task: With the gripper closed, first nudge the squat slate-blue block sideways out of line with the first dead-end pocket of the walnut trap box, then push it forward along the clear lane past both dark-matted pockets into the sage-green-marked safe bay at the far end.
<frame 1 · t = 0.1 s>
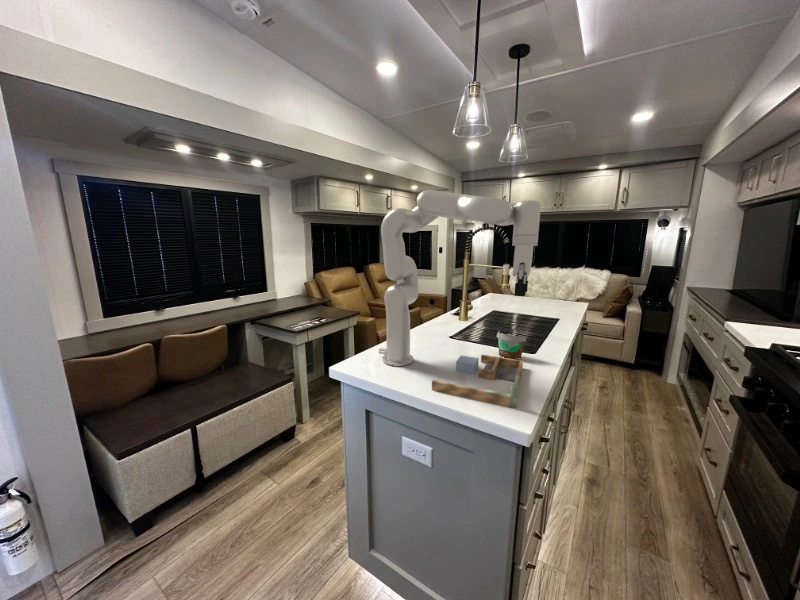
hand: (521, 293, 101), 31 cm above the countertop, tool pointing down, fingers open, 9 cm apart
block: (467, 369, 118), on the countertop
trap box: (481, 378, 110), on the countertop
food container: (507, 357, 130), on the countertop
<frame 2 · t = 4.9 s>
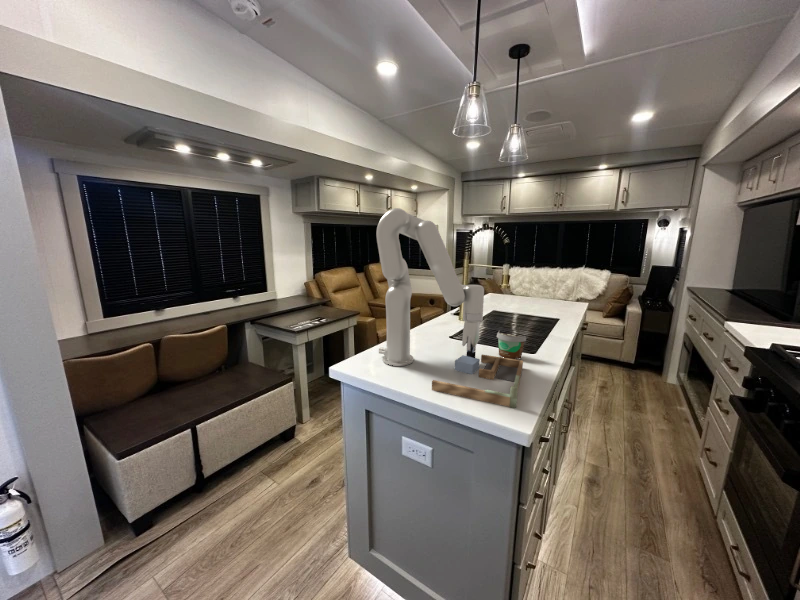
hand: (470, 361, 122), 1 cm above the countertop, tool pointing down, fingers closed
block: (466, 369, 118), on the countertop, touching gripper
everything else where it was.
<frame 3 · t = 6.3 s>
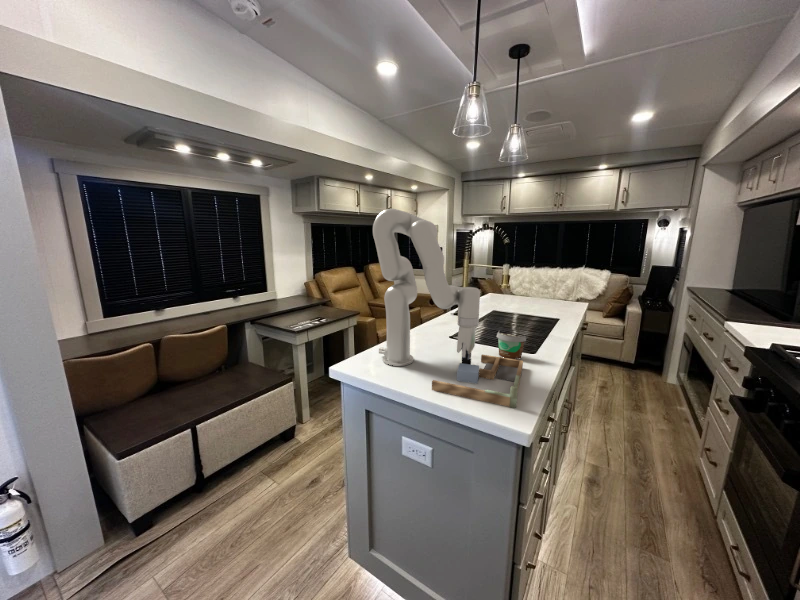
hand: (466, 368, 115), 1 cm above the countertop, tool pointing down, fingers closed
block: (467, 378, 110), on the countertop
everything else where it was.
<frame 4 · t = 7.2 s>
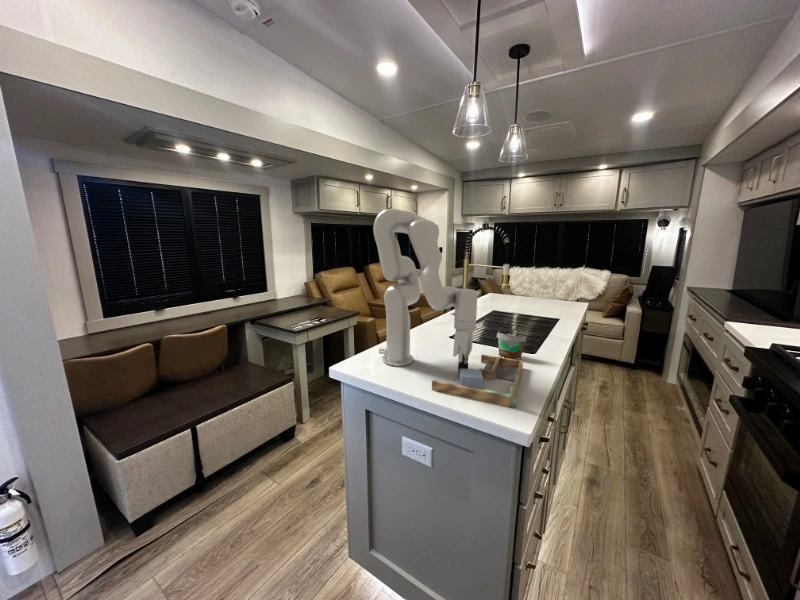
hand: (462, 372, 111), 1 cm above the countertop, tool pointing down, fingers closed
block: (470, 383, 106), on the countertop, touching gripper
everything else where it was.
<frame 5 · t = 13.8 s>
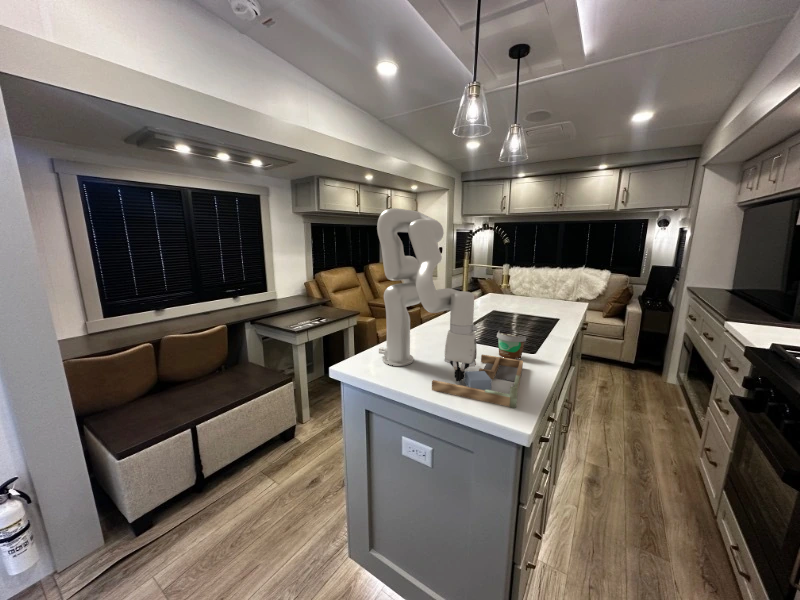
hand: (459, 380, 105), 1 cm above the countertop, tool pointing down, fingers closed
block: (477, 386, 104), on the countertop, touching gripper
everything else where it was.
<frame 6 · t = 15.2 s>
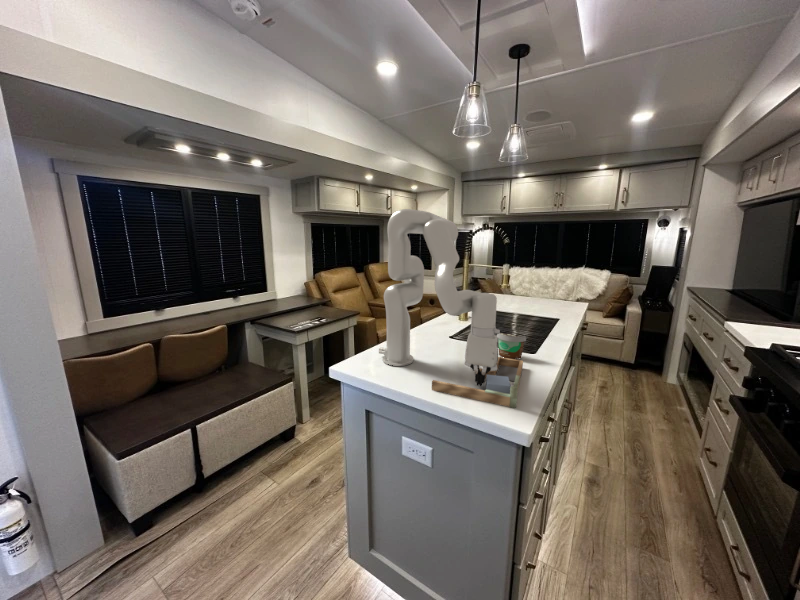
hand: (479, 384, 102), 1 cm above the countertop, tool pointing down, fingers closed
block: (497, 391, 101), on the countertop
everything else where it was.
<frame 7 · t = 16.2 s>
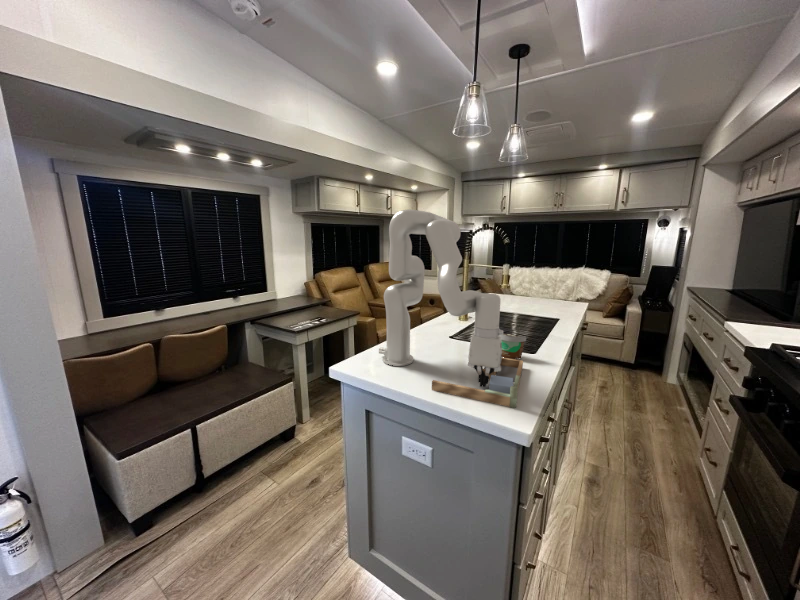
hand: (483, 384, 102), 1 cm above the countertop, tool pointing down, fingers closed
block: (500, 392, 100), on the countertop
everything else where it was.
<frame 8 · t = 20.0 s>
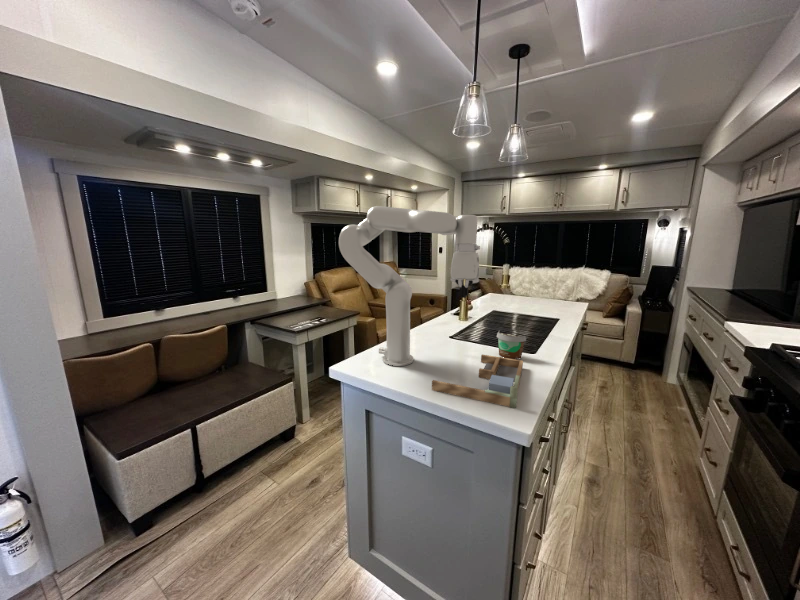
hand: (463, 297, 118), 27 cm above the countertop, tool pointing down, fingers closed
nothing on the countertop moved.
at the end: block inside the target area (0.7 cm from its centre), on the countertop; block tilted 0° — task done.
